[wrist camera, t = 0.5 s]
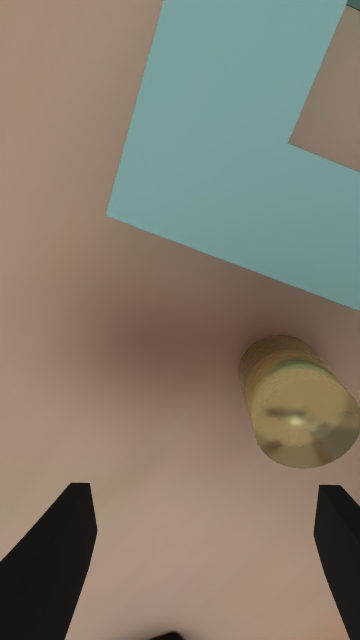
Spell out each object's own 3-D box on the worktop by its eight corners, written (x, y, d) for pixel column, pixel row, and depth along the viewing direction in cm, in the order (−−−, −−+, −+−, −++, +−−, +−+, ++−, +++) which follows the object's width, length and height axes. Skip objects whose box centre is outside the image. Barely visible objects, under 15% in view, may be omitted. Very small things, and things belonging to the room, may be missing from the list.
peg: (331, 350, 17) (382, 400, 13) (295, 414, 19) (329, 480, 14) (258, 324, 17) (282, 365, 12) (227, 390, 18) (238, 450, 14)
